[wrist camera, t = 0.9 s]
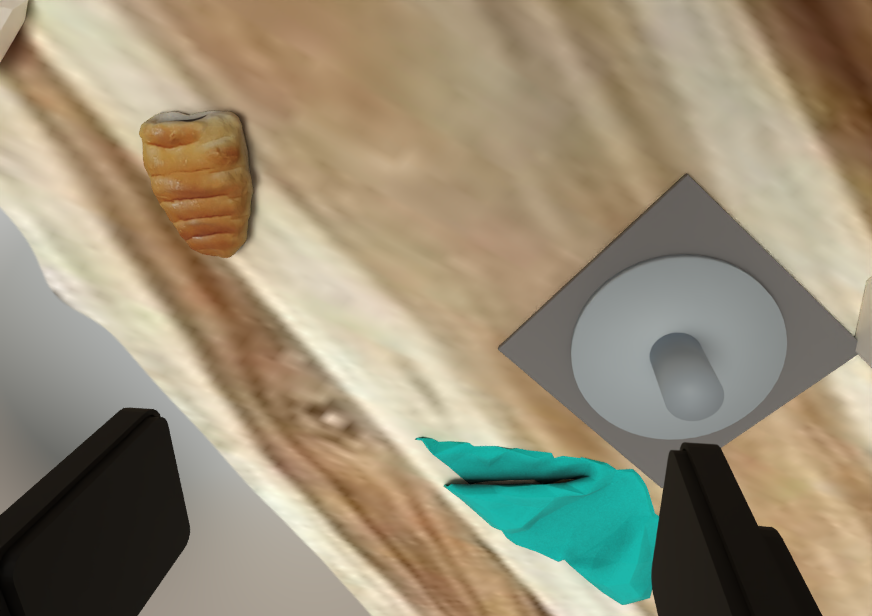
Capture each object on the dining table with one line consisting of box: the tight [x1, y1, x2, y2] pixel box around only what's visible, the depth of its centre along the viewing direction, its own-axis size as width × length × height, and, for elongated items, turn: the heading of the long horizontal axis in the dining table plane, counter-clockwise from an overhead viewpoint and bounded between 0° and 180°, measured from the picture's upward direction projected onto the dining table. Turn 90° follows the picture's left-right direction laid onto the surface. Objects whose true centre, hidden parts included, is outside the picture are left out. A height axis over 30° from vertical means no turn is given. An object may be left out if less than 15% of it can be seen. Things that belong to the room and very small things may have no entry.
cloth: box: [415, 438, 659, 605], centre depth 47 cm, size 26×14×2 cm, turn 44°
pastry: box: [139, 111, 254, 258], centre depth 39 cm, size 9×7×4 cm
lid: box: [571, 254, 787, 440], centre depth 38 cm, size 13×13×6 cm
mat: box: [498, 173, 858, 488], centre depth 40 cm, size 16×16×1 cm
